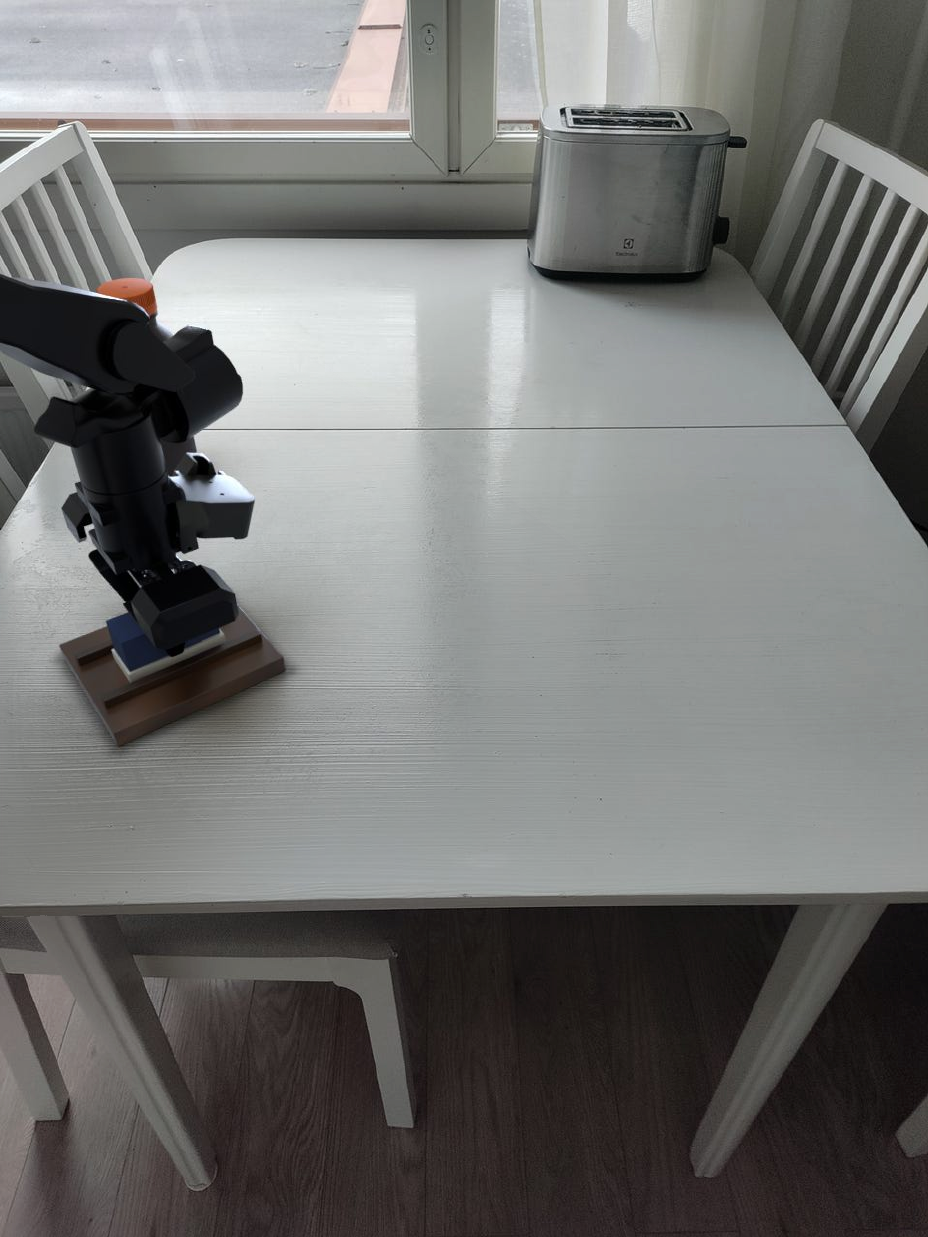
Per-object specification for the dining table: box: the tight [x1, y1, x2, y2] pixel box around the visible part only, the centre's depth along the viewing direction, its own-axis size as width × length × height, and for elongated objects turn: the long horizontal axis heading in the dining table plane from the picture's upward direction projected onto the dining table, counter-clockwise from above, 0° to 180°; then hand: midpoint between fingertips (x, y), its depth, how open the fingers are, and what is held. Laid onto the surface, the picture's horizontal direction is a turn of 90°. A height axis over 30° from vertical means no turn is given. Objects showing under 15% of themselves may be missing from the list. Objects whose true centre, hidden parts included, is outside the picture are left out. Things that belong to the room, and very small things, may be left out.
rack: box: [58, 603, 287, 747], centre depth 77 cm, size 14×12×2 cm
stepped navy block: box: [105, 611, 226, 683], centre depth 75 cm, size 8×4×4 cm, turn 127°
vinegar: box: [96, 277, 198, 477], centre depth 93 cm, size 7×7×20 cm
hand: (167, 641), depth 76 cm, fingers closed on stepped navy block, 3 cm apart
